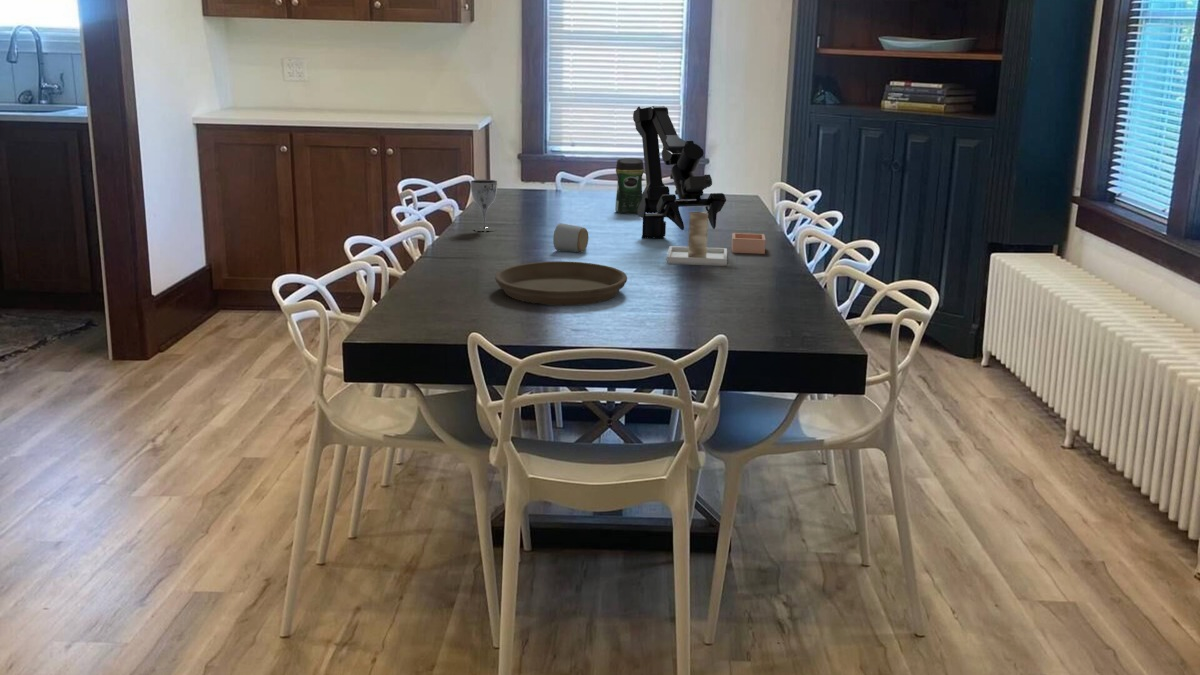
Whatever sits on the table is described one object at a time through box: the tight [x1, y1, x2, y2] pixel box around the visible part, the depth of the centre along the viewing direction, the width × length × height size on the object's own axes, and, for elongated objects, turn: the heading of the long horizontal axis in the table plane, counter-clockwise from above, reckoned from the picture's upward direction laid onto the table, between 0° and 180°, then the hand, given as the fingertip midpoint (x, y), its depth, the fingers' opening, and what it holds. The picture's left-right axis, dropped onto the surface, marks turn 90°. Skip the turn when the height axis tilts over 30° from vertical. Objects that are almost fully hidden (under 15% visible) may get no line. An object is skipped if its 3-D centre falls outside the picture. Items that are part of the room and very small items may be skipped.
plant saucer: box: [494, 260, 628, 306], centre depth 260 cm, size 31×31×5 cm
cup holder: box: [731, 232, 766, 255], centre depth 313 cm, size 9×9×4 cm
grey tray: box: [666, 245, 728, 267], centre depth 302 cm, size 16×16×2 cm
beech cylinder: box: [687, 211, 709, 258], centre depth 300 cm, size 5×5×12 cm
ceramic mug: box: [552, 222, 589, 253], centre depth 310 cm, size 11×8×8 cm
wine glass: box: [470, 179, 498, 229], centre depth 338 cm, size 8×8×15 cm
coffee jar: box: [615, 157, 645, 215], centre depth 376 cm, size 10×8×19 cm
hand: (698, 228), depth 300 cm, fingers open, 9 cm apart
